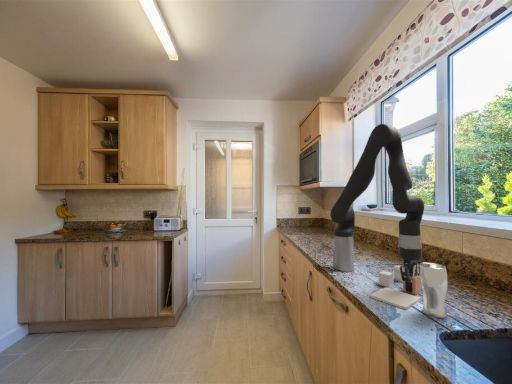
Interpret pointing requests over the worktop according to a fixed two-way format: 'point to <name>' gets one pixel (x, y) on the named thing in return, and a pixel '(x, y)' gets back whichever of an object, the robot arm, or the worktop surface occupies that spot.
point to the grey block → (386, 279)
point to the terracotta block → (414, 285)
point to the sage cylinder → (397, 274)
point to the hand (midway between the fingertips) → (411, 289)
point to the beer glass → (433, 289)
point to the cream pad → (395, 298)
